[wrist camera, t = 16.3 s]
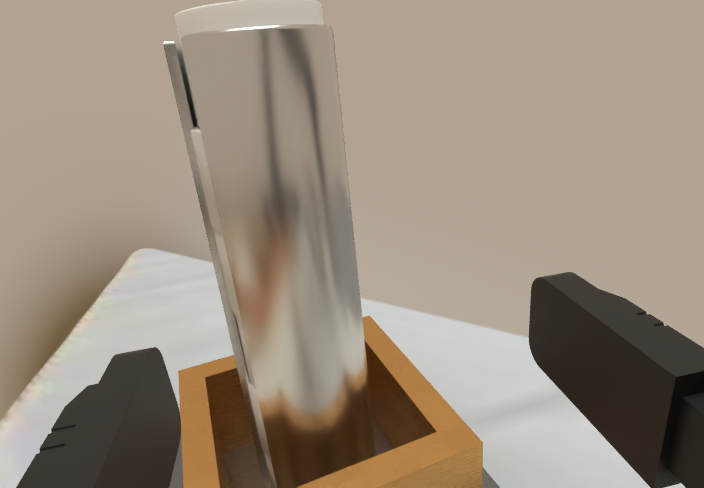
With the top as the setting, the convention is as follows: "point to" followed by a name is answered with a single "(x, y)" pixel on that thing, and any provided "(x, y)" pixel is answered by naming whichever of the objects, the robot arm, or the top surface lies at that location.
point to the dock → (349, 483)
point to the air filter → (279, 226)
